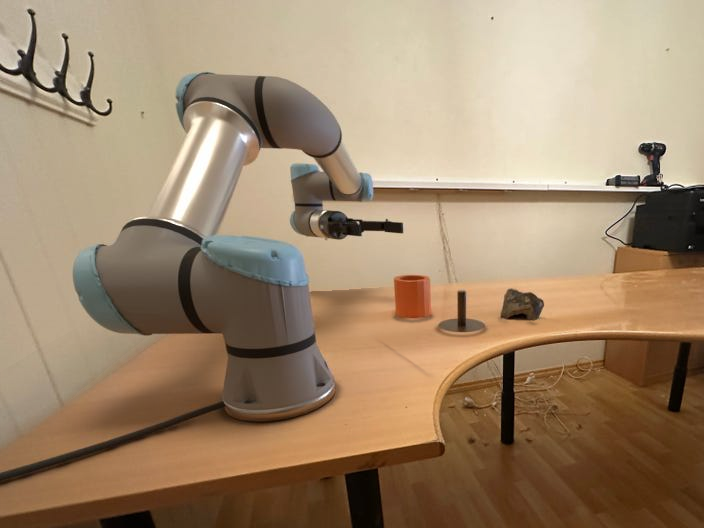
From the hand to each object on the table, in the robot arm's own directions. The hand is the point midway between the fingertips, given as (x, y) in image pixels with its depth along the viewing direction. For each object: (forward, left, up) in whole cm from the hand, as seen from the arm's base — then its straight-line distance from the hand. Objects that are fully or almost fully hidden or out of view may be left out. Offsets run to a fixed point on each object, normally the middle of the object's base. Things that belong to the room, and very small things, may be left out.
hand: (382, 229), depth 101 cm
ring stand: (+8, -24, -21) cm, 33 cm away
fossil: (+26, -25, -21) cm, 42 cm away
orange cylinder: (+3, -9, -21) cm, 23 cm away
